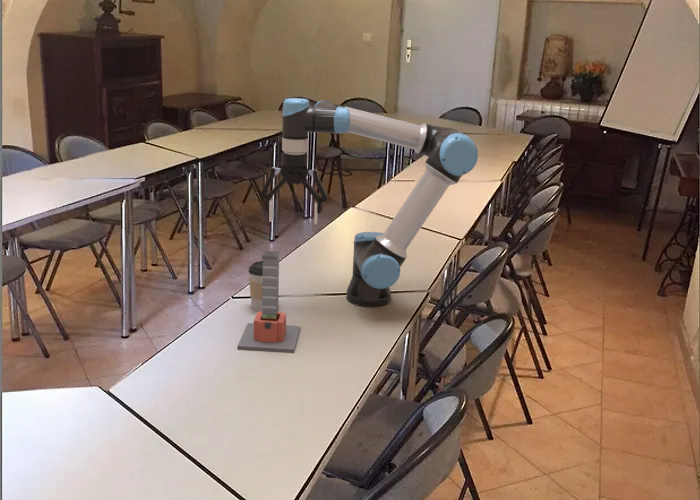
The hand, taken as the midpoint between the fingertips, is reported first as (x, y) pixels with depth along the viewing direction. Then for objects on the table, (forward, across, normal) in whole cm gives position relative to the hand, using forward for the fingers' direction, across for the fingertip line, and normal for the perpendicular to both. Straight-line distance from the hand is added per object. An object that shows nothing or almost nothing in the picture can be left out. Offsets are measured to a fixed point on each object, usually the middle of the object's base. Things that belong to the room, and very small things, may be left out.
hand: (293, 221), depth 216 cm
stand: (+31, +4, +18) cm, 36 cm away
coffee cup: (+31, +10, -5) cm, 33 cm away
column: (+23, +4, +18) cm, 30 cm away
